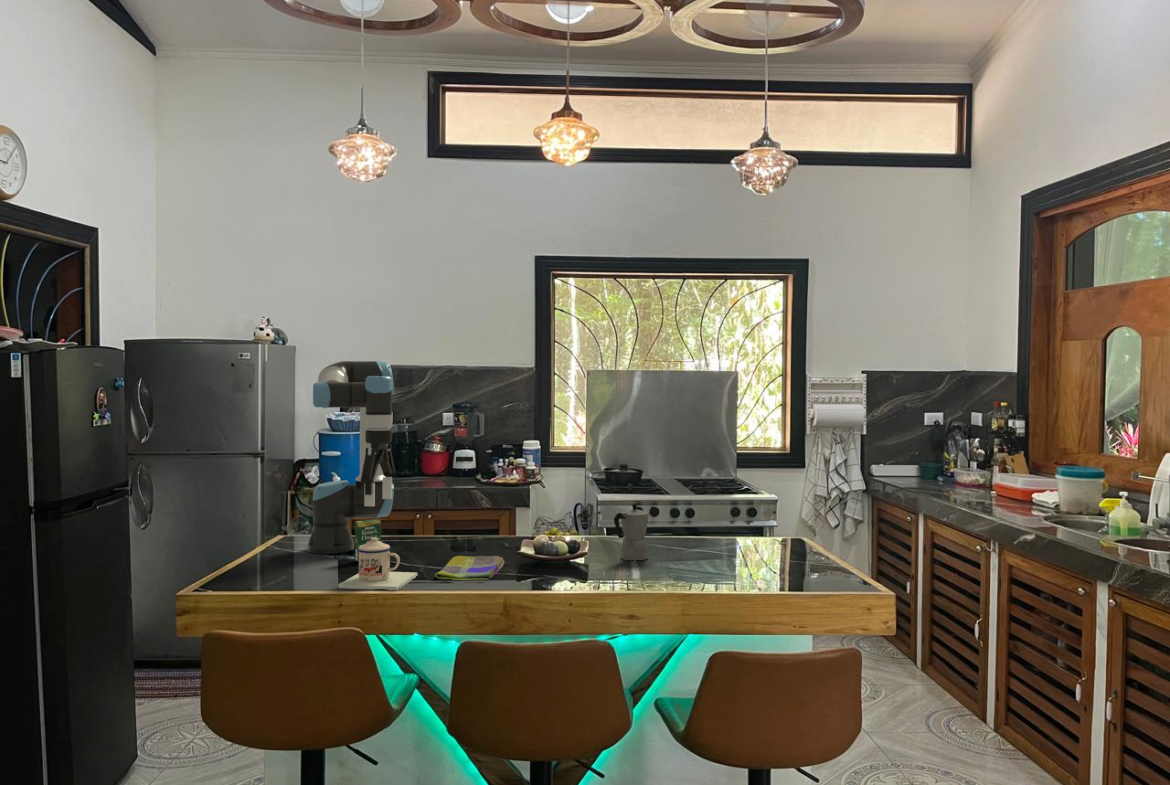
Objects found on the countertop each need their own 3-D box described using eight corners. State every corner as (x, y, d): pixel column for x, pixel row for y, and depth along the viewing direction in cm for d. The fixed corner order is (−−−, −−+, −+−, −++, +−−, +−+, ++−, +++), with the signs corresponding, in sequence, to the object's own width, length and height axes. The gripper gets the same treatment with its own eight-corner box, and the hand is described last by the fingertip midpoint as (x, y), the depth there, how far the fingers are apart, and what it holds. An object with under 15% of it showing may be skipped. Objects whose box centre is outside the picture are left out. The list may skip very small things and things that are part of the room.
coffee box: (356, 563, 261) (356, 522, 261) (354, 561, 263) (354, 520, 263) (381, 560, 265) (381, 519, 265) (378, 558, 268) (379, 518, 267)
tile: (362, 573, 246) (362, 570, 246) (417, 575, 244) (417, 572, 244) (338, 588, 229) (338, 584, 229) (397, 590, 227) (397, 586, 227)
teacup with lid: (353, 581, 233) (353, 540, 233) (364, 574, 242) (364, 534, 242) (394, 582, 232) (394, 541, 232) (404, 575, 241) (404, 535, 241)
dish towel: (431, 581, 240) (431, 571, 240) (452, 562, 265) (452, 554, 264) (490, 582, 239) (490, 573, 239) (505, 564, 263) (505, 555, 263)
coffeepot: (639, 553, 278) (639, 500, 278) (658, 558, 271) (659, 503, 270) (604, 559, 268) (604, 504, 268) (624, 564, 261) (624, 508, 261)
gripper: (382, 426, 250) (382, 495, 250) (348, 432, 225) (348, 509, 226) (406, 426, 249) (405, 496, 250) (374, 432, 224) (374, 509, 225)
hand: (378, 502), depth 238 cm, fingers open, 13 cm apart
